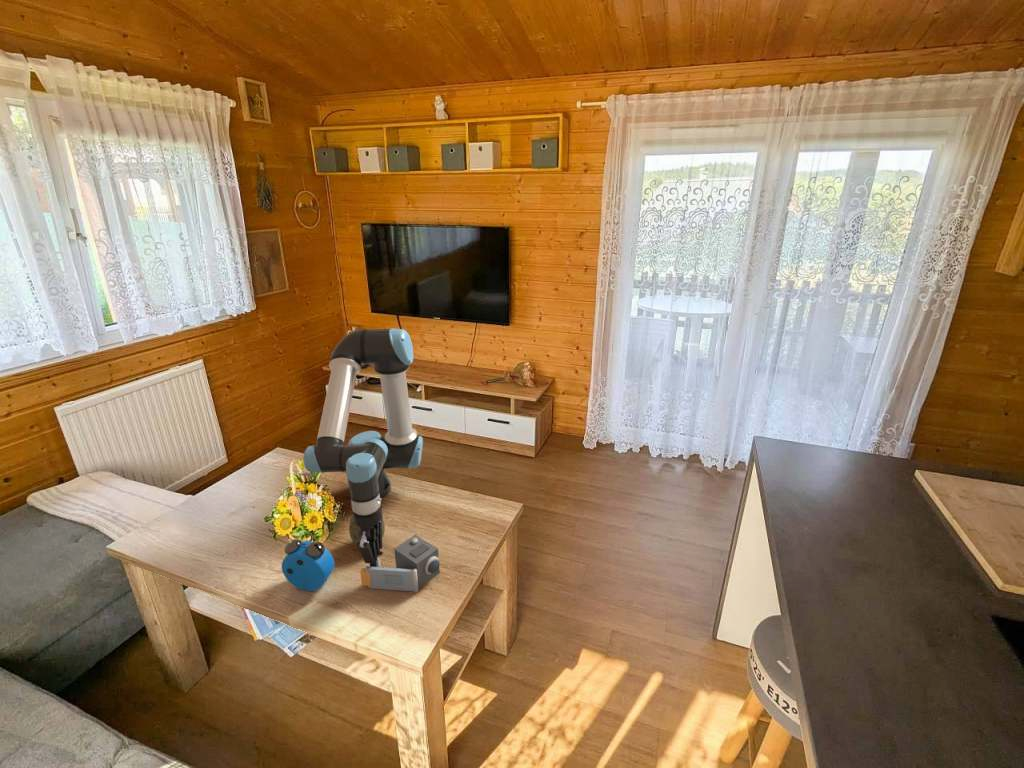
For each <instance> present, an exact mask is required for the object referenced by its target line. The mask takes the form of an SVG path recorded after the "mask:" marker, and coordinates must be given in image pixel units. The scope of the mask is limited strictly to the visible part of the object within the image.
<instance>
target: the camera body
mask: <svg viewBox="0 0 1024 768" xmlns="http://www.w3.org/2000/svg"><path fill="white" fill-rule="evenodd" d="M393 551H394V559H395V567H396V568H400V569H414V568H415V569H417V577H418V587H419V589H421V588H423V587H424V586H425V585H426V584H427V583H429V582H430V581H432V579H434V578H435V577H436V576H438V575H439V574H440V573H441V571H440V568H441V567H440V564H441V563H440V557H439V547H436V546H434V545H433V544H431V543H429V542H428V541H426V540H425V539H423V538H422V537H420V536H418V535H417V534H414V535H412V536H411V537H409V538H407V539H406V540H405V541H403V542H402V543H400V544H399V545H397V546H396V547H395V548H394V549H393Z"/></svg>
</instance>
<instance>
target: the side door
mask: <svg viewBox="0 0 1024 768" xmlns="http://www.w3.org/2000/svg"><path fill="white" fill-rule="evenodd" d="M359 574H360V579H361V586H365V587H367V588H368V589H379V590H390V591H391V590H392V591H402V592H403V591H406V592H414V593H419V591H420V590H419V587H418V577H417V569H415V568H414V569H400V568H395V567H382V566H381V567H370V565H368V566H367V565H366V567H364V568H363V567H362V568H361V569H360V571H359Z"/></svg>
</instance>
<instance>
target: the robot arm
mask: <svg viewBox="0 0 1024 768" xmlns="http://www.w3.org/2000/svg"><path fill="white" fill-rule="evenodd" d="M330 355H331V356H330V358H329V362H328V366H329V369H330V370H331V371H330V374H329V380H328V386H327V388H326V389H327V390H326V395H325V399H324V404H323V408H322V409H323V410H322V413H321V418H320V423H319V428H318V433H317V438H316V443H315V444H312V445H309V446H307V447H306V449H305V450H304V453H303V467H304V468H305V470H306V471H307V472H310V473H322V474H323V473H339V472H340V473H341V472H344V473H345V474H346V476H345V477H346V479H347V483H348V490H349V496H350V503H351V510H352V515H353V516H354V522H355V524H356V525H357V526H359V527H360V528H361V529H360V535H361V536H362V538H361V541H360V542H358V543H357V545H356V546H357V547H358V548H359V550H360V553H361V555H362V559H363V561H364V564H369V566H370V567H382V564H381V559H380V558H381V557H380V556H383V551H381V550H382V548H383V537H382V518H383V509H382V504H381V502H382V499H383V498H384V497H386V496H387V495H388V494H389V493H390V492H391V489H392V483H391V479H390V478H389V476H388V474H387V472H386V470H385V469H387V470H389V469H406V470H408V469H414V468H415V469H416V468H417V467H419V466H420V464H421V460H422V455H423V445H424V439H423V437H422V436H421V435H418V431H417V430H416V429H415V428H413V425H412V424H413V423H412V415H411V407H410V398H409V390H408V383H407V373H406V372H407V371H408V370H409V369H410V365H411V364H412V363H413V361H414V347H413V343H412V339H411V336H410V334H409V333H408V332H407V330H405V329H403V328H401V329H400V328H393V327H391V328H367V329H366V328H359V329H355V330H353V331H351V332H349V333H348V334H345V336H344V337H342V339H340V341H338V343H337V344H336V346H335V348H333V351H332V353H331V354H330ZM364 365H365V366H366V365H367V366H368V365H369V366H372V365H373V370H374V371H373V372H375V374H378V375H379V379H380V386H381V393H382V394H381V395H382V399H383V408H384V413H385V419H386V421H385V422H386V426H387V432H385V435H384V436H382V435H381V434H380V432H378V431H376V430H367V431H362V432H360V433H358V434H356V435H354V436H353V437H351V438H350V439H349V441H348V444H345V443H344V442H345V438H346V432H347V427H348V422H349V415H350V411H351V404H352V399H353V394H354V389H355V384H356V383H355V382H356V378H357V374H359V373H360V372H361V370H362V369H361V368H362V366H364Z"/></svg>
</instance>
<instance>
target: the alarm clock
mask: <svg viewBox="0 0 1024 768" xmlns="http://www.w3.org/2000/svg"><path fill="white" fill-rule="evenodd" d="M284 553H285V554H286V556H285V557H284V558H283V560H282V562H281V571H282V574H283V576H284V577H285V579H286V581H288V582H289V583H290V584H291V585H292V586H294V587H295V588H298V589H299V590H303V591H307V592H308V591H309V592H311V591H312V592H313V591H317V590H319V589H321V588H322V587H323V585H324V584H325V583H326V582H327V581H328V579H329V577H330V576H331V574H332V573H334V572H333V571H334V569H335V560H334V557H333V555H332V554H331V552H330V551H329V549H327V548H326V547H325V546H324V544H323V543H322V542H320V541H310V540H305V541H302V540H301V539H299V538H295V539H291V540H288V541H287V543H286V545H285V547H284Z"/></svg>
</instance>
